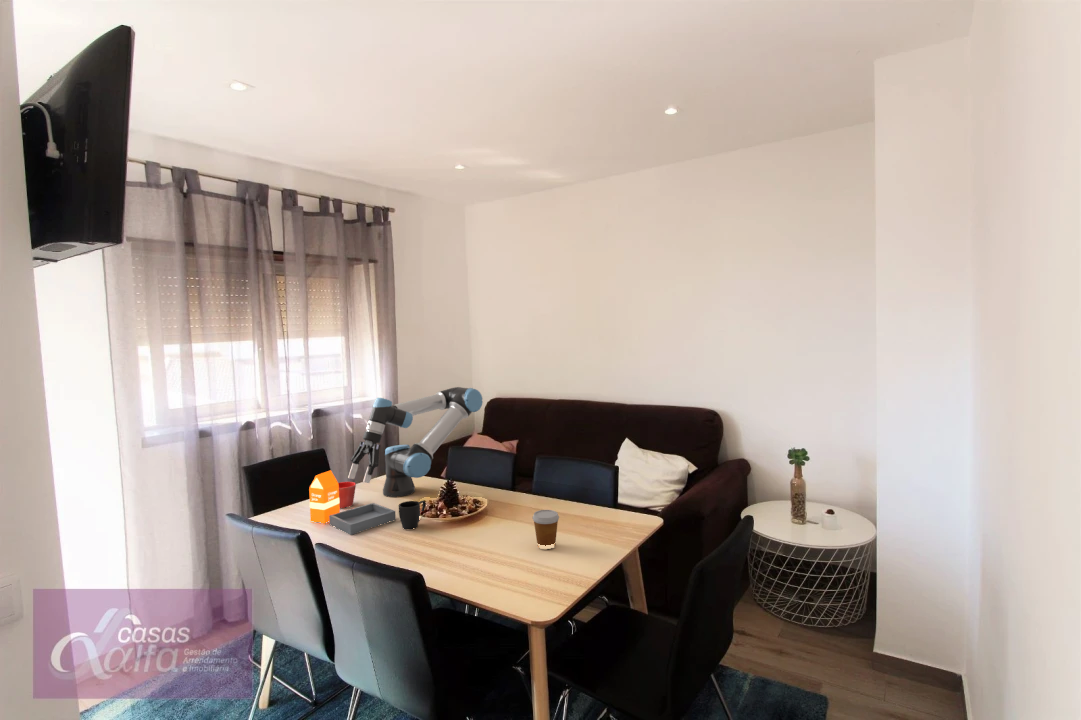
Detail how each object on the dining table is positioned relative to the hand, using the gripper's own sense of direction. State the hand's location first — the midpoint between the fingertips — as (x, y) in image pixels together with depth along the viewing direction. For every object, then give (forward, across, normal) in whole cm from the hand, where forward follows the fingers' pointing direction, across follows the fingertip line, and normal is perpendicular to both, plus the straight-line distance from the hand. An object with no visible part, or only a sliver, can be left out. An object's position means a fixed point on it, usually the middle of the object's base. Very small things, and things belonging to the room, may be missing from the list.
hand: (358, 480), depth 225 cm
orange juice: (+18, -6, -6) cm, 20 cm away
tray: (+16, +10, +2) cm, 19 cm away
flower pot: (+12, -17, +6) cm, 22 cm away
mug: (+12, +30, +14) cm, 35 cm away
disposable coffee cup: (+7, +84, +33) cm, 90 cm away
